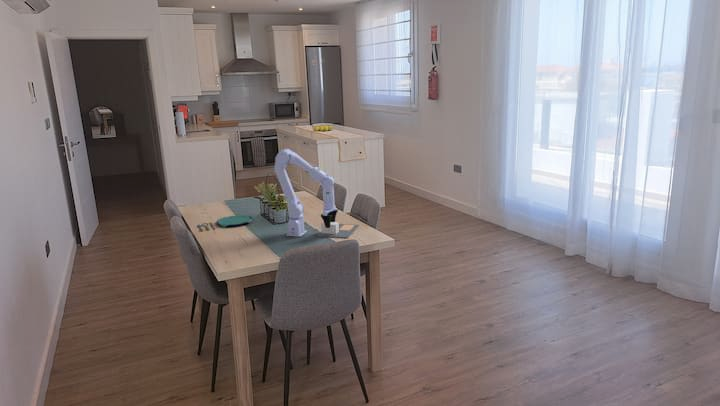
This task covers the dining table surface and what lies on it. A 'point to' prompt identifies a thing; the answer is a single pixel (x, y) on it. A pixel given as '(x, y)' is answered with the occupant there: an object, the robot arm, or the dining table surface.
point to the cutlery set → (230, 221)
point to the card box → (332, 230)
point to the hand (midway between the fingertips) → (330, 225)
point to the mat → (341, 231)
